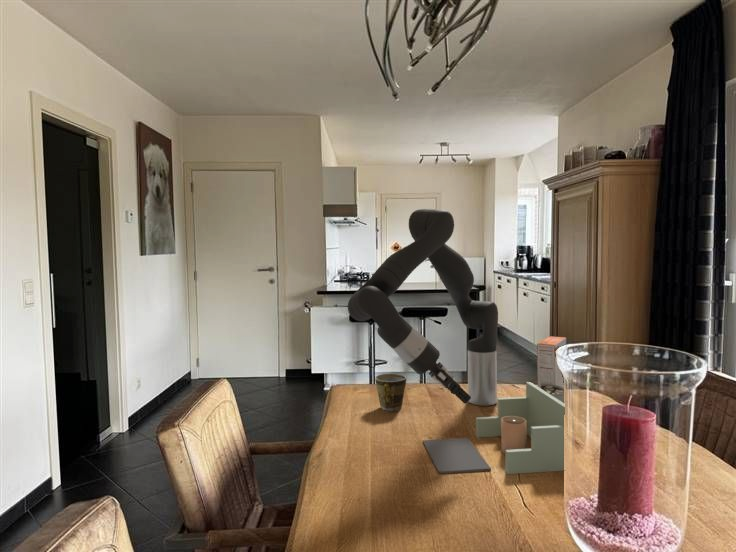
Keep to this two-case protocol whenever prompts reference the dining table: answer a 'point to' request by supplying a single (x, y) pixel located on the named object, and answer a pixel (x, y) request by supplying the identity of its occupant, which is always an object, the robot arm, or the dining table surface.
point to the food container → (554, 391)
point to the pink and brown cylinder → (513, 433)
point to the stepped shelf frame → (531, 431)
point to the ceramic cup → (390, 391)
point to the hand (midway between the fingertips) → (462, 395)
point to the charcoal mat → (455, 456)
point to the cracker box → (549, 361)
